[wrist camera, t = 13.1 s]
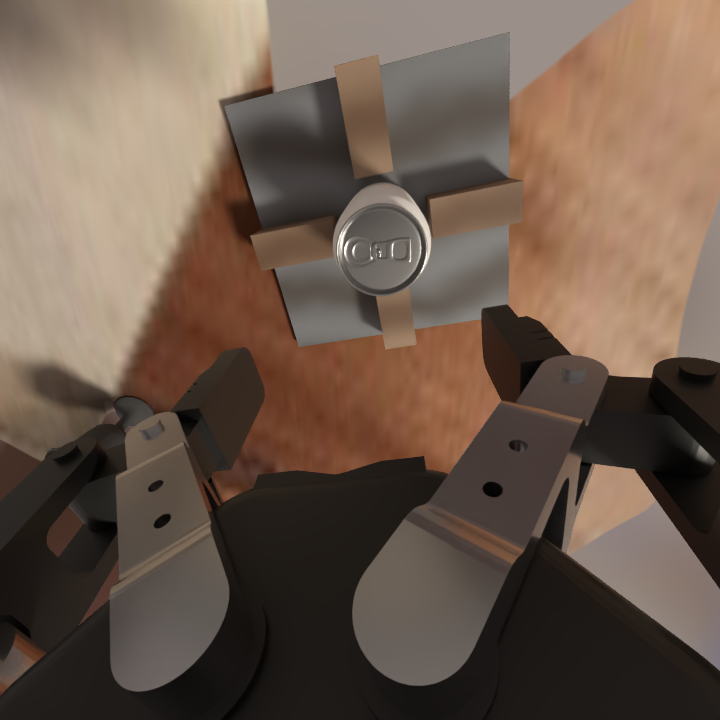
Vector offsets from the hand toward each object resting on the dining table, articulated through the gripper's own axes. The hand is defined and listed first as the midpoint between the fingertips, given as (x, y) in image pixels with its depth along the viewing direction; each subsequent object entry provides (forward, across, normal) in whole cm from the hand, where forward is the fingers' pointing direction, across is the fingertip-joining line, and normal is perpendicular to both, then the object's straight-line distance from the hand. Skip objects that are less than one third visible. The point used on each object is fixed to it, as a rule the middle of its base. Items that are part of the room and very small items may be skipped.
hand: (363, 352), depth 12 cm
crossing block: (+25, -1, 0) cm, 25 cm away
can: (+24, -1, 0) cm, 24 cm away
